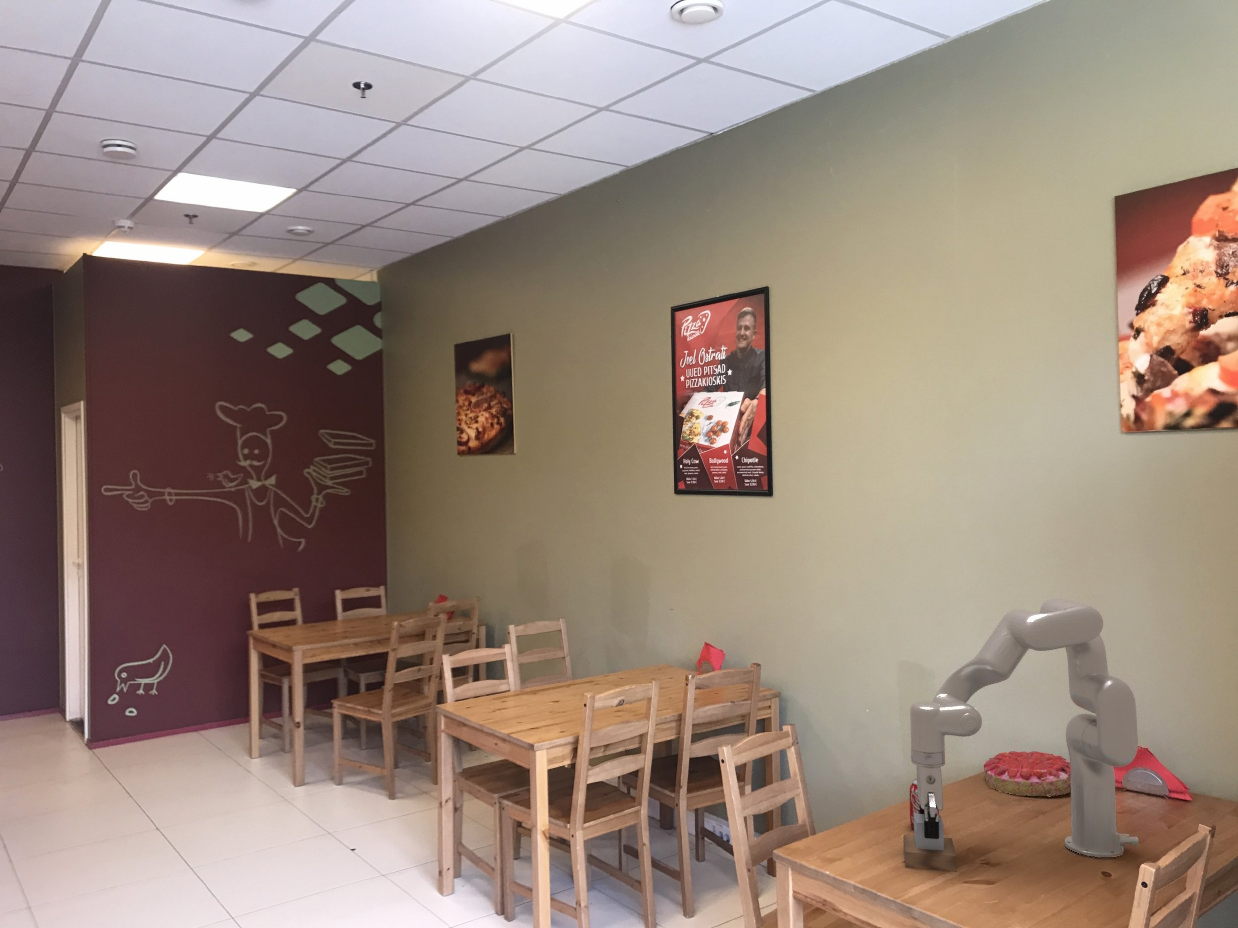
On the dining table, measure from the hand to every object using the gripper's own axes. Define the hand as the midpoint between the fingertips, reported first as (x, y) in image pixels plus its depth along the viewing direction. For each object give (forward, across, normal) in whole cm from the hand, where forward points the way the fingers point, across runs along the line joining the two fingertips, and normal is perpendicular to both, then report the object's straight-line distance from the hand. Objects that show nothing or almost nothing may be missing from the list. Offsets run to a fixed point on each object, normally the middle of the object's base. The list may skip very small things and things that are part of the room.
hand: (929, 830), depth 223 cm
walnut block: (+7, 0, 0) cm, 7 cm away
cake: (+7, +62, -34) cm, 71 cm away
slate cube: (+3, 0, 0) cm, 3 cm away
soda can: (+7, +20, -1) cm, 21 cm away
